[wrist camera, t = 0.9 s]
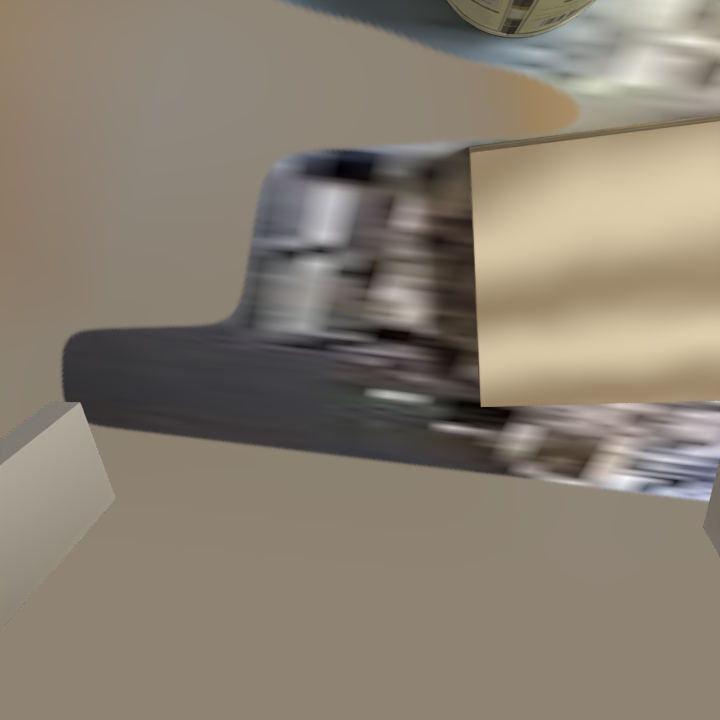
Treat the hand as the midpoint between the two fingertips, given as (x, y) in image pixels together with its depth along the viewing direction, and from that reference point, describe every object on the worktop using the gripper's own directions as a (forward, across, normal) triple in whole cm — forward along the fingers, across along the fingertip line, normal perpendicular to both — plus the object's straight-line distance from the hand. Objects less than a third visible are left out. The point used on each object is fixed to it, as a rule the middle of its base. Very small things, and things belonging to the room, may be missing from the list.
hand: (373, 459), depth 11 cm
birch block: (+24, +10, -2) cm, 26 cm away
